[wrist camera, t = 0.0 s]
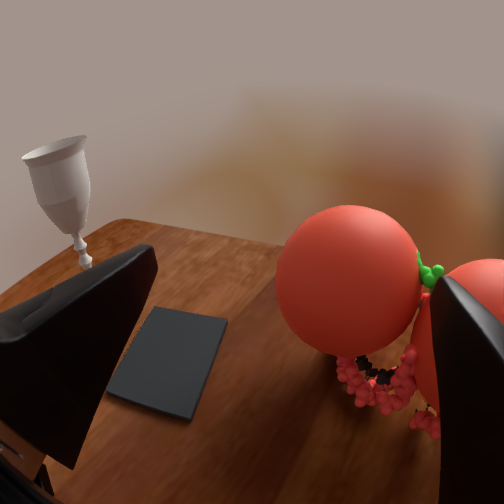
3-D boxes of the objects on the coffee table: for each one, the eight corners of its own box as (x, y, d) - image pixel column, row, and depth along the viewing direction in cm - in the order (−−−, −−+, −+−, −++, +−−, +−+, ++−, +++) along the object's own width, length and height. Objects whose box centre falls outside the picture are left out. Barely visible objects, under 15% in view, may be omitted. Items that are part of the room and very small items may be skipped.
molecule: (229, 392, 22) (245, 196, 17) (300, 337, 30) (328, 188, 25) (498, 513, 8) (642, 336, 2) (509, 422, 16) (588, 275, 11)
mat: (191, 421, 20) (190, 418, 20) (107, 393, 21) (104, 390, 21) (227, 323, 29) (227, 319, 29) (155, 309, 30) (154, 305, 30)
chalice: (62, 304, 30) (9, 162, 20) (93, 271, 36) (56, 139, 26) (104, 320, 29) (49, 155, 19) (135, 282, 34) (101, 132, 24)
